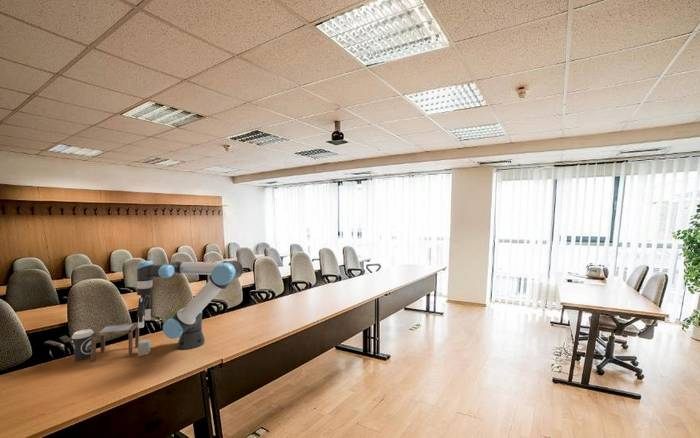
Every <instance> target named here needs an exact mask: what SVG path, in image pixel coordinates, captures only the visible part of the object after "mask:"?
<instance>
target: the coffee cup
mask: <svg viewBox="0 0 700 438" xmlns="http://www.w3.org/2000/svg"><path fill="white" fill-rule="evenodd" d="M94 332H95V331H93V329H91V328H89V329H88V328H87V329H81V330H78V331H76V332H73V334H72V336H71V339H72V344H73V355H74V361H75V362H82V361H86V360H88V358H89V359H91V335H92V334H93V333H94Z"/></svg>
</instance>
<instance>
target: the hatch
mask: <svg viewBox="0 0 700 438" xmlns="http://www.w3.org/2000/svg"><path fill="white" fill-rule="evenodd" d="M133 325H134V324H130V325H121V326H111V327H105V328H104V329H102V330H101V331H100V332H99V333H103V332H112V331H121V330H130V329H131V327H132V326H133Z"/></svg>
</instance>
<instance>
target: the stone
mask: <svg viewBox="0 0 700 438" xmlns="http://www.w3.org/2000/svg"><path fill="white" fill-rule="evenodd" d="M151 342H152V341H151V339H141V340H139V343H138V348H137V355H138V356H139V357H140V356H145V355H150V353H151V349H152V348H151V347H152V345H151V344H152V343H151ZM138 356H137V357H138Z"/></svg>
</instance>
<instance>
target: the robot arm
mask: <svg viewBox="0 0 700 438" xmlns="http://www.w3.org/2000/svg"><path fill="white" fill-rule="evenodd" d="M243 272H244V266H243V264H242V263H241V262H240V261H238V260H223V261H222V262H213V261H211V262H210V261H209V262H204V261H203V262H202V261H198V262H196V261H195V262H194V261H181V260H176V261H172V262H168V263H163V264H154V263H153V261H152V260H143V261H139V262H137V266H136V276H137V277H136V278H137V279H136V282H135V284H136V287H137V289H136V295H137V296H140V298H138V304H137V305H138V306H137V314H136V315H135V317H136V318H137V319H138V320H137V323H138V328H139V329H142V328H144V327H145V321H151V309H153V306H152V300H151V294H153V286H154V285H153V284H154V283H153V281H154V280H153V278H159V279H161V278H162V279H165V278H166V279H167V278H171V277H172V276H173V275H209V277H208V281H207V282H206V284H204V286H203V287H202V288H201V289H200V290H199V291H198V292H197V293H196V295H194V296H193V297H192V299H191V300H190V301H189V302H188V303H187V304H186V305H185V307H182V308H180V309H178V310H177V312H175V313H174V314H173V315H172V316H171V318H168V319H166V320H165V321H164V323H163V325H162V331H163V334H164V336H166V338H168V339H173V340H175V339H178V341H177V348H178V349H181V350H189V349H190V350H191V349H196V348H199V347H201V346H203V345H204V344H206V343H205V342H206V338H205V335H204V331H203V310H204V309H205V307H207V306H208V305H209V304H210V302H211V301H212V300H213V299H214V298H215V297H216V296H217V295H218V294H219V292H221V291H222V290H226V289H227V287H229V286H230V284H231V283H232V282H233V281H235V280H237V279H239V278H240V277H241V276H242V275H243Z"/></svg>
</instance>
